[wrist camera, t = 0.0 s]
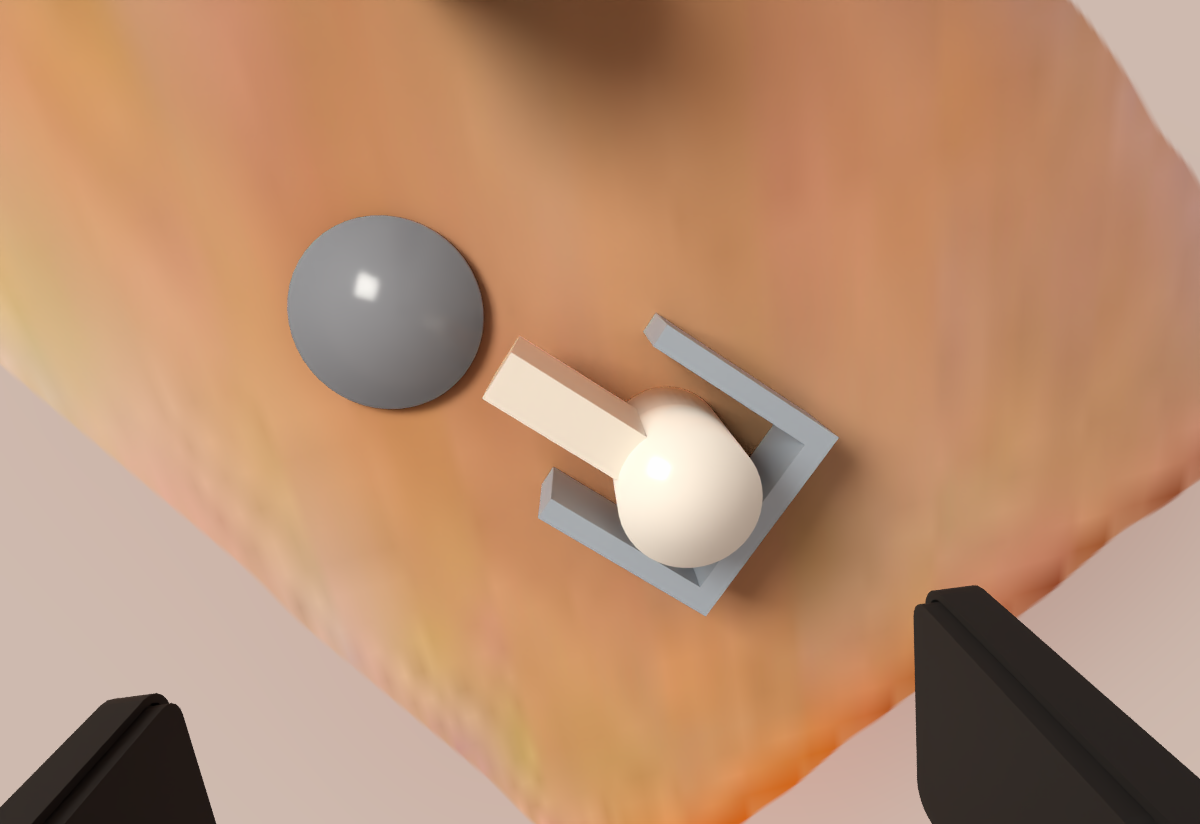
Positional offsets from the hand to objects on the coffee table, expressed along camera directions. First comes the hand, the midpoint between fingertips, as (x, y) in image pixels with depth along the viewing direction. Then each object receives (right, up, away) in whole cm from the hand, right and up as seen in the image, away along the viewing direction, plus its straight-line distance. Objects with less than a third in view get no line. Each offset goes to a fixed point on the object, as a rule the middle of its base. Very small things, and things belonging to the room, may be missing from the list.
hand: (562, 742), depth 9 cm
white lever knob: (+1, +4, +31) cm, 31 cm away
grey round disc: (-11, +9, +29) cm, 33 cm away
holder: (+4, +2, +32) cm, 32 cm away
